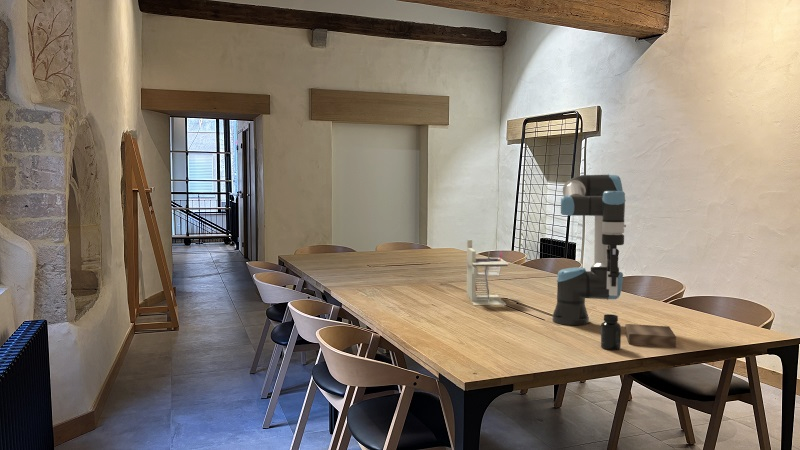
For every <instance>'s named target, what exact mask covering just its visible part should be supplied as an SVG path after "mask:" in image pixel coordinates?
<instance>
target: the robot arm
mask: <svg viewBox="0 0 800 450" xmlns="http://www.w3.org/2000/svg"><path fill="white" fill-rule="evenodd" d="M623 190H624V189H623V184H622V180H621V177H620V176H619V175H617V174H609V173H608V174H583V175H582V174H581V175H577V176H574V177H572V178H571V179H568V180H567V181H566V182H565V183H564V185H563V187H562V195H563V196H561V197H560V214H561V216H569V217H572V216H575V217H576V216H577V217H579V216H582V217H585V216H586V217H587V216H588V217H591V216H592V217H593V216H594V246H593V247H594V248H593V249H594V253H593V254H594V259H593V260H594V261H593V262H594V263H593V265H591V266H590V270H587V269H586V267H581V266H580V267H577V266H576V267H567V268H562V269H560V270H558V272H557V280H556V282H557V283H556V284H557V285H556V286H557V287H556V288H557V290H556V292H557V293H556V299H557V300H556V304H555V308H554V310H553V313H552V322H554V323H556V324H560V325H565V326H566V325H567V326H584V325H588V324H589V321H590V319H589V318H590V316H589V314H588V310H587V308H586V303H585V302H586V299H594V300H598V299H599V300H607V301H608V300H618V299H619V298H620V296H621V293H622V289H623V287H622V286H623V283H624V274H623V273H624V272H622V271H620V267H619V254H620V250H619V249H618V247H617V246H623V245H624V244H625V235H624V233H625V228H627V225H626V224H625V212H626V193H625V192H624V191H623Z"/></svg>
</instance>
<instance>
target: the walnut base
mask: <svg viewBox="0 0 800 450" xmlns="http://www.w3.org/2000/svg"><path fill="white" fill-rule="evenodd" d="M624 327H625V328H624V329H625V332H624V334H625V337H626V340H627V342H628V345H631V346H632V345H633V346H635V345H636V346H648V347H661V348H662V347H664V348H677V335H676V334H675V333H674V331H673V330H672V328H671V326H668V325H667V326H666V325H664V326H663V325H651V324H650V325H649V324H631V323H625V326H624Z"/></svg>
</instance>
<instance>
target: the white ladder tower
mask: <svg viewBox="0 0 800 450" xmlns="http://www.w3.org/2000/svg"><path fill="white" fill-rule="evenodd" d="M490 253H491V252H490V251H488V255H487V257H477V251H476V250H475V249H474V248H473V239H466V254H467V255H466V296H467V298H468V297H469V298H468V299H469V301H470V300H471V301H470V302H471V304H472V303H473V304H472V305H473V306H474V305H504V306H507V303H506V302H505V301H504V300H503V299H502V298H501V297H500V296H499V295H498V294H490V288H489V280H488V277H500V274H501V270H502V267H509V266H510V263H509V262H507V261H505V260H504V259H502V256H503V253H500V255H499V257H491V254H490ZM478 267H484V272H479V268H478ZM477 277H484V278H477Z"/></svg>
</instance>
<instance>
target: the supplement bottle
mask: <svg viewBox="0 0 800 450" xmlns="http://www.w3.org/2000/svg"><path fill="white" fill-rule="evenodd" d="M618 318H619V316H618V315H616V314H608V313H607V314H604V315H603V322H601V324H600V346H601V347H600V348H602V349H604V350H608V351H619V350H620V349H621V345H622V344H621V341H622V340H621V339H622V338H621V337H622V336H621V335H622V333H621V332H622V331H621V330H622V327H621V324H620V323H619V320H618Z"/></svg>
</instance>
